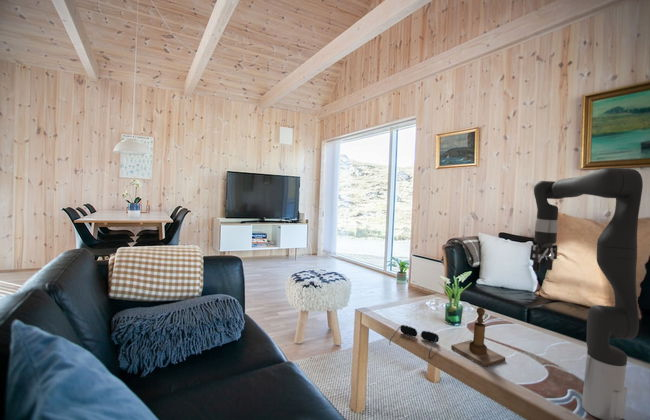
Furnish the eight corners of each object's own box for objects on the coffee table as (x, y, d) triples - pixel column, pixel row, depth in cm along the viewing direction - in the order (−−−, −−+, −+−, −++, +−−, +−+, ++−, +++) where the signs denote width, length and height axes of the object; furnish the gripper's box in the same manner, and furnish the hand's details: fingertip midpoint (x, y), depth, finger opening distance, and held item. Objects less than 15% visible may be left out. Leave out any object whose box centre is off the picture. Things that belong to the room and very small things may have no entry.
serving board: (505, 361, 131) (505, 357, 131) (485, 367, 126) (485, 363, 125) (470, 343, 145) (470, 340, 145) (451, 348, 140) (451, 345, 140)
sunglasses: (438, 344, 144) (439, 333, 143) (429, 363, 132) (429, 351, 131) (400, 333, 153) (400, 323, 152) (388, 350, 141) (388, 339, 140)
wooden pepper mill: (488, 355, 132) (492, 311, 130) (471, 353, 133) (474, 310, 132) (484, 348, 138) (487, 305, 137) (467, 346, 139) (470, 304, 138)
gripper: (545, 232, 127) (541, 273, 128) (566, 231, 134) (562, 271, 135) (525, 229, 134) (522, 269, 135) (546, 229, 140) (543, 267, 141)
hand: (542, 270), depth 135 cm, fingers open, 8 cm apart
